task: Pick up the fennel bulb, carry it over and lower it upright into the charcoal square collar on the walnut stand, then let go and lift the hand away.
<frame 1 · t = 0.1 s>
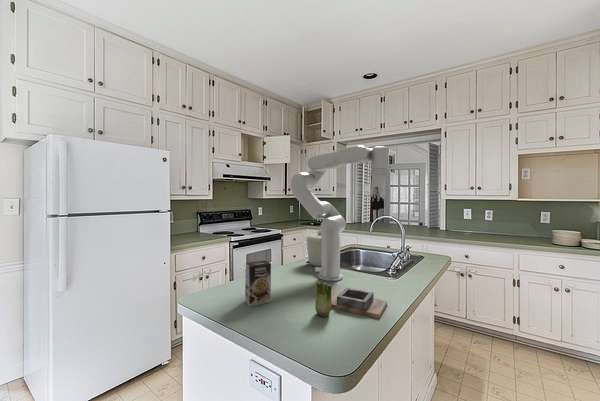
hand: (378, 209, 137), 37 cm above the counter, tool pointing down, fingers open, 9 cm apart
coffee box: (258, 302, 118), on the counter
canister: (319, 264, 174), on the counter
fennel bulb: (322, 315, 106), on the counter
collar stand: (355, 305, 115), on the counter
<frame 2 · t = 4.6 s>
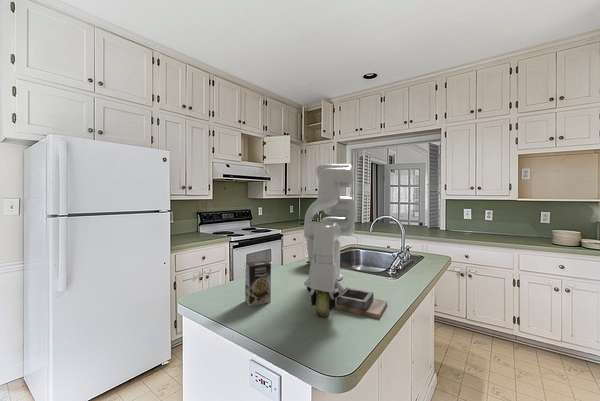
hand: (323, 306, 106), 3 cm above the counter, tool pointing down, fingers closed on fennel bulb, 6 cm apart
fennel bulb: (322, 315, 106), on the counter, touching gripper
everything else where it was.
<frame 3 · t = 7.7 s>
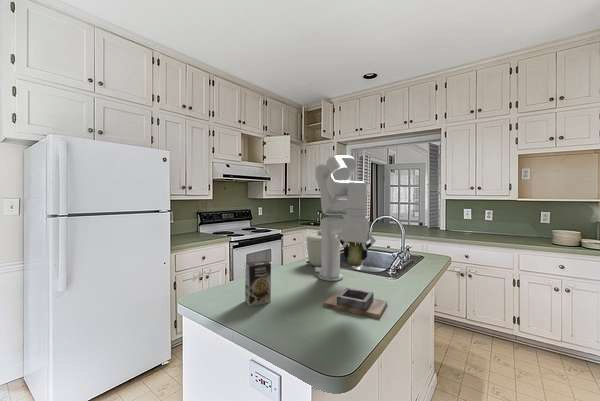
hand: (355, 257, 114), 19 cm above the counter, tool pointing down, fingers closed on fennel bulb, 6 cm apart
fennel bulb: (354, 266, 114), point 16 cm above the counter, touching gripper
everything else where it was.
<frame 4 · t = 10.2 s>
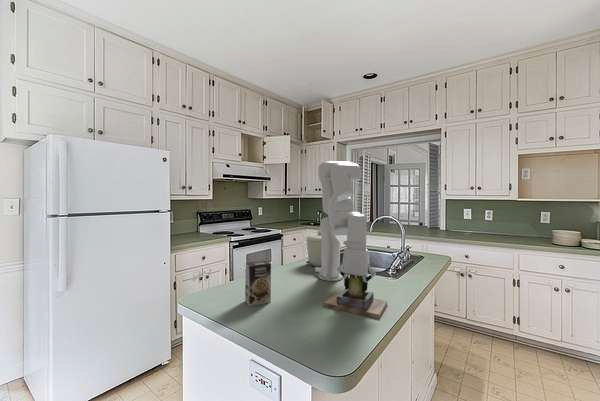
hand: (355, 289, 114), 6 cm above the counter, tool pointing down, fingers closed on fennel bulb, 6 cm apart
fennel bulb: (355, 298, 115), point 3 cm above the counter, touching gripper
everything else where it was.
when the fingers open (6 cm above the counter, at t = 10.8 s): fennel bulb drops 1 cm, resting on collar stand.
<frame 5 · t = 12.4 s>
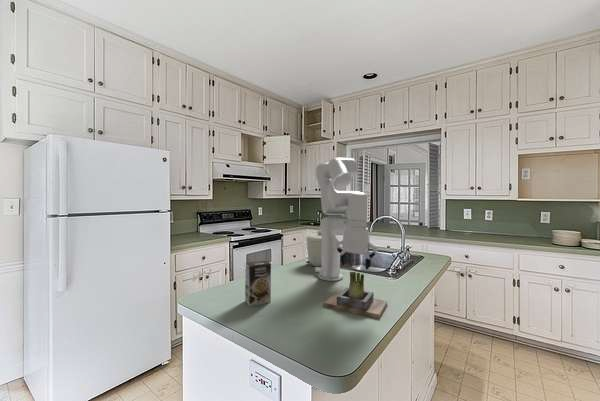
hand: (355, 266, 115), 16 cm above the counter, tool pointing down, fingers open, 9 cm apart
fennel bulb: (355, 302, 115), point 1 cm above the counter, touching collar stand
everything else where it was.
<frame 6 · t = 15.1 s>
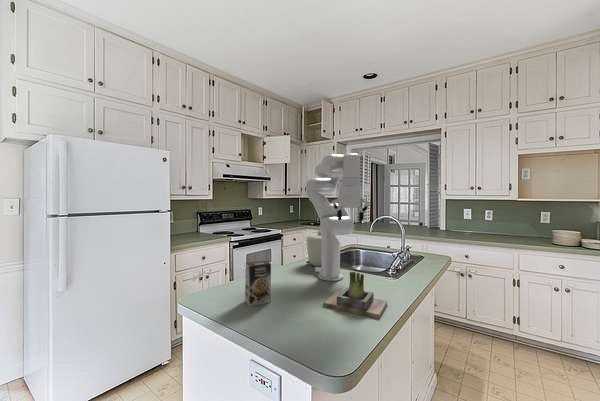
hand: (350, 220, 128), 32 cm above the counter, tool pointing down, fingers open, 9 cm apart
nothing on the counter moved.
at the end: fennel bulb 0.2 cm off-centre on the collar stand, point 1.3 cm above the collar stand's base; fennel bulb tilted 0°; the gripper is holding nothing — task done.
